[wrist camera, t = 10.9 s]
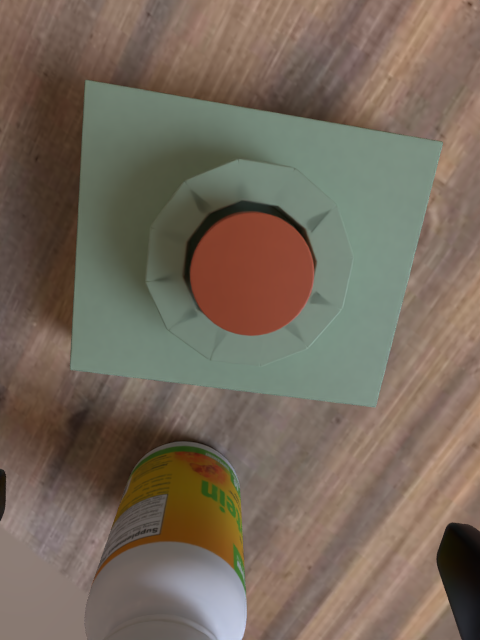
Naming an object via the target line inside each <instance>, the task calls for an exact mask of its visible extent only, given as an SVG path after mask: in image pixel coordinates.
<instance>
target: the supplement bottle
mask: <svg viewBox="0 0 480 640" xmlns="http://www.w3.org/2000/svg"><path fill="white" fill-rule="evenodd" d="M246 619H247V606H246V587H245V573H244V555H243V536H242V517H241V496H240V486H239V481H238V478H237V475H236V472H235V470H234V468H233V467H232V465H231V464H230V463H229V461H228V460H227V459H226V458H225V457H224V456H223V455H221V454H220V453H219V452H217V451H216V450H214V449H212V448H210V447H208V446H206V445H203V444H199V443H195V442H186V441H183V442H173V443H168V444H165V445H162V446H160V447H157V448H155V449H153V450H152V451H150V452H149V453H147V454H146V455H145V456H144V457H143V458H142V459H141V460H140V461H139V462H138V463H137V464H136V466H135V467H134V469H133V471H132V473H131V475H130V477H129V479H128V482H127V484H126V487H125V490H124V493H123V496H122V499H121V502H120V505H119V508H118V511H117V514H116V517H115V519H114V522H113V525H112V528H111V531H110V534H109V537H108V540H107V543H106V546H105V549H104V552H103V555H102V557H101V560H100V563H99V566H98V569H97V572H96V574H95V577H94V580H93V583H92V586H91V589H90V593H89V597H88V600H87V604H86V610H85V629H86V636H87V640H242V638H243V635H244V631H245V626H246Z"/></svg>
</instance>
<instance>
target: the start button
mask: <svg viewBox="0 0 480 640" xmlns="http://www.w3.org/2000/svg"><path fill="white" fill-rule="evenodd" d="M313 283H314V263H313V258H312V255H311V252H310V249H309V247H308V245H307V243H306V241H305V240H304V238H303V237H302V236H301V234H300V233H299V232H298V231H297V230H296V229H295V228H294V227H293V226H292V225H290V224H289V223H287V222H286V221H284V220H282V219H281V218H279V217H276V216H273V215H271V214H267V213H262V212H257V211H242V212H236V213H233V214H230V215H227V216H225V217H223V218H221V219H220V220H218V221H217V222H215V223H214V224H213V225H212V226H211V227H210V228H209V229H208V230H207V231H206V232H205V234H204V235H203V237H202V238H201V240H200V241H199V243H198V245H197V247H196V249H195V251H194V254H193V257H192V260H191V266H190V284H191V289H192V293H193V295H194V298H195V300H196V302H197V304H198V306H199V308H200V309H201V311H202V312H203V313H204V314H205V315H206V317H207V318H208V319H209V320H211V321H212V322H213V323H214V324H216V325H217V326H219V327H220V328H222V329H224V330H226V331H229V332H232V333H235V334H239V335H246V336H257V335H263V334H268V333H271V332H274V331H276V330H278V329H281V328H282V327H284V326H286V325H287V324H289V323H290V322H291V321H292V320H294V319H295V318H296V317H297V316H298V314H299V313H300V312H301V311H302V309H303V308H304V307H305V305H306V303H307V301H308V299H309V297H310V294H311V292H312V288H313Z"/></svg>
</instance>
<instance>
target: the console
mask: <svg viewBox="0 0 480 640" xmlns="http://www.w3.org/2000/svg"><path fill="white" fill-rule="evenodd" d="M442 145H443V142H442V141H436V140H430V139H424V138H419V137H413V136H407V135H401V134H396V133H390V132H384V131H378V130H373V129H367V128H361V127H355V126H350V125H344V124H338V123H332V122H327V121H321V120H315V119H309V118H304V117H298V116H292V115H286V114H281V113H275V112H269V111H263V110H258V109H252V108H246V107H240V106H235V105H229V104H223V103H217V102H212V101H206V100H200V99H194V98H189V97H183V96H177V95H172V94H166V93H160V92H154V91H149V90H143V89H137V88H131V87H126V86H120V85H114V84H108V83H103V82H97V81H91V80H85V88H84V107H83V127H82V146H81V165H80V184H79V204H78V223H77V242H76V262H75V281H74V300H73V319H72V339H71V358H70V370H76V371H84V372H92V373H100V374H108V375H116V376H124V377H132V378H141V379H149V380H157V381H165V382H173V383H181V384H189V385H197V386H206V387H214V388H222V389H230V390H238V391H246V392H254V393H262V394H271V395H279V396H287V397H295V398H303V399H311V400H319V401H327V402H336V403H344V404H352V405H360V406H368V407H376V404H377V400H378V396H379V392H380V388H381V384H382V381H383V377H384V373H385V369H386V365H387V361H388V357H389V353H390V349H391V345H392V341H393V337H394V333H395V329H396V326H397V322H398V318H399V314H400V310H401V306H402V302H403V298H404V294H405V290H406V286H407V282H408V278H409V274H410V271H411V267H412V263H413V259H414V255H415V251H416V247H417V243H418V239H419V235H420V231H421V227H422V223H423V220H424V216H425V212H426V208H427V204H428V200H429V196H430V192H431V188H432V184H433V180H434V176H435V172H436V168H437V165H438V161H439V157H440V153H441V149H442ZM242 211H257V212H262V213H267V214H271V215H273V216H276V217H279V218H281V219H282V220H284V221H286V222H287V223H289V224H290V225H292V226H293V227H294V228H295V229H296V230H297V231H298V232H299V233H300V234H301V236H302V237H303V238H304V240H305V241H306V243H307V245H308V247H309V249H310V252H311V255H312V258H313V263H314V283H313V288H312V292H311V294H310V297H309V299H308V301H307V303H306V305H305V307H304V308H303V309H302V311H301V312H300V313H299V314H298V316H297V317H296V318H295V319H294V320H292V321H291V322H290V323H289V324H287V325H286V326H284V327H282V328H281V329H278V330H276V331H274V332H271V333H268V334H263V335H257V336H246V335H239V334H235V333H232V332H229V331H226V330H224V329H222V328H220V327H219V326H217V325H216V324H214V323H213V322H212V321H211V320H209V319H208V318H207V317H206V315H205V314H204V313H203V312H202V311H201V309H200V308H199V306H198V304H197V302H196V300H195V298H194V295H193V293H192V289H191V284H190V266H191V260H192V257H193V254H194V251H195V249H196V247H197V245H198V243H199V241H200V240H201V238H202V237H203V235H204V234H205V232H206V231H207V230H208V229H209V228H210V227H211V226H212V225H213V224H214V223H215V222H217V221H218V220H220V219H221V218H223V217H225V216H227V215H230V214H233V213H236V212H242Z"/></svg>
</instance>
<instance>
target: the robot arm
mask: <svg viewBox="0 0 480 640" xmlns="http://www.w3.org/2000/svg"><path fill="white" fill-rule="evenodd" d="M5 502H6V474H5V471H4V470H2V469H0V521H1V519H2V516H3V514H4V510H5ZM437 566H438V570H439V573H440V576H441V579H442V582H443V585H444V588H445V591H446V594H447V597H448V600H449V603H450V606H451V609H452V612H453V615H454V618H455V621H456V624H457V627H458V630H459V633H460V636H461V639H462V640H480V531H478V530H477V529H476V528H474V527H473V526H471V525H468V524H461V523H450V524H448V525H447V527H446V529H445V532H444V535H443V538H442V541H441V543H440V546H439V549H438V552H437Z"/></svg>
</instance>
